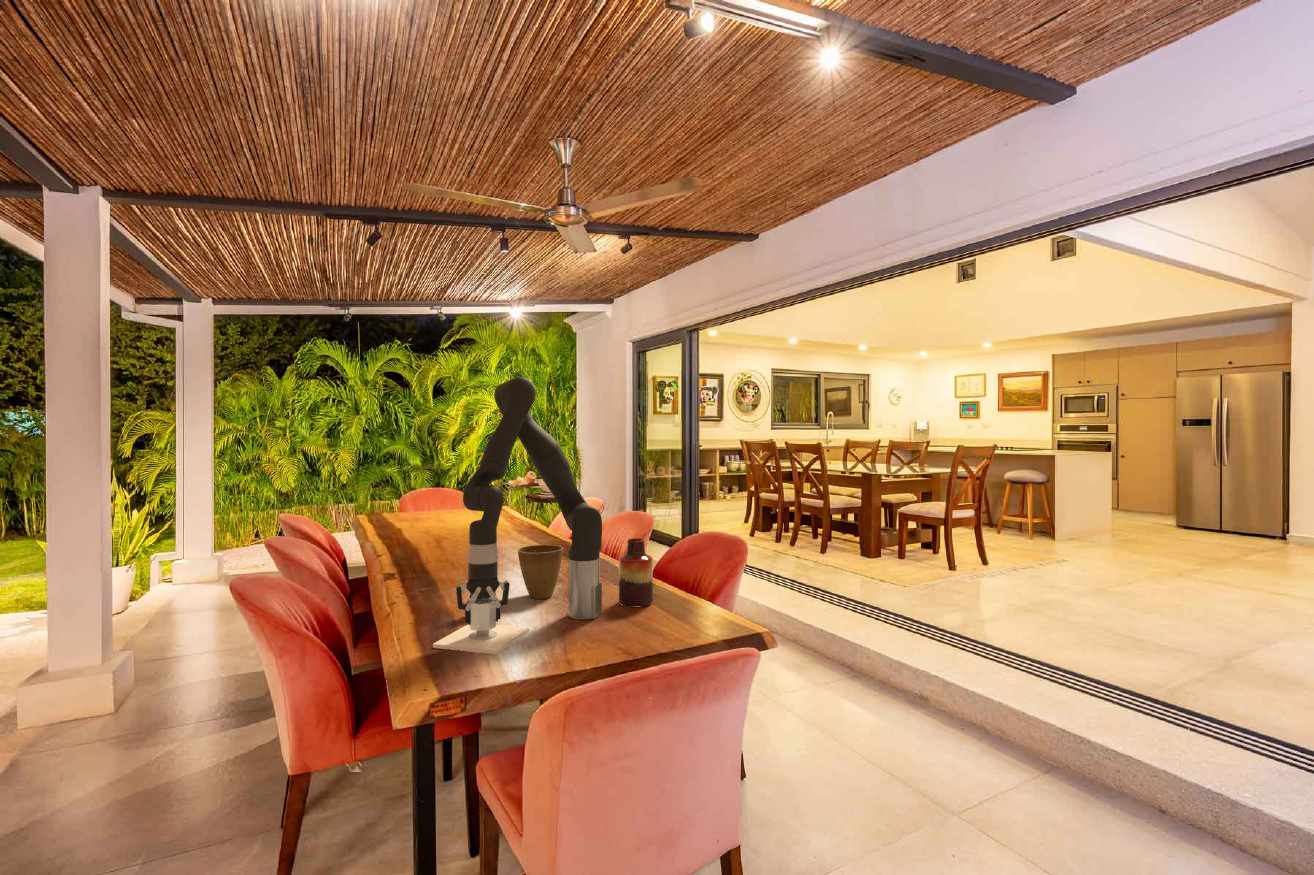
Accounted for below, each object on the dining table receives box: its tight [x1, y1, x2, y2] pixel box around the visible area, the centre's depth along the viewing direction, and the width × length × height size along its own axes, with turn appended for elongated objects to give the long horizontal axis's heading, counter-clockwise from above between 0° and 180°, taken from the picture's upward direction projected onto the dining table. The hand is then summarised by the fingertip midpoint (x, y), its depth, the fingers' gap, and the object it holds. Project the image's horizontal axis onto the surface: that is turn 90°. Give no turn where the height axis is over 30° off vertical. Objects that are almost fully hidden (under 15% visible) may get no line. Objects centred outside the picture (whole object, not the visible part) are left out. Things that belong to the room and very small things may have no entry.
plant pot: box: [517, 544, 564, 600], centre depth 210 cm, size 15×15×16 cm
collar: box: [470, 598, 497, 631], centre depth 167 cm, size 6×6×7 cm
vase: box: [618, 537, 654, 607], centre depth 202 cm, size 11×11×20 cm
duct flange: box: [432, 624, 530, 655], centre depth 168 cm, size 18×18×6 cm
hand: (482, 622), depth 167 cm, fingers closed on collar, 6 cm apart
